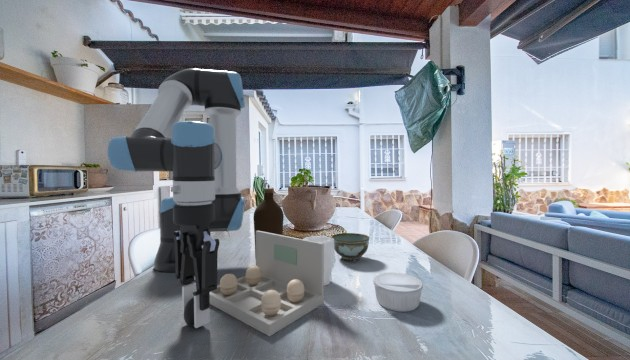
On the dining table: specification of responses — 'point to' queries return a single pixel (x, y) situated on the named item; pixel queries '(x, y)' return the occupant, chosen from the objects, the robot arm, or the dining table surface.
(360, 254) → the bowl
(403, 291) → the ramekin
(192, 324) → the egg
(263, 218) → the olive oil
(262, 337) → the dining table surface
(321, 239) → the cup
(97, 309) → the dining table surface
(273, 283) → the carton
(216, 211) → the robot arm
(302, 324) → the dining table surface
